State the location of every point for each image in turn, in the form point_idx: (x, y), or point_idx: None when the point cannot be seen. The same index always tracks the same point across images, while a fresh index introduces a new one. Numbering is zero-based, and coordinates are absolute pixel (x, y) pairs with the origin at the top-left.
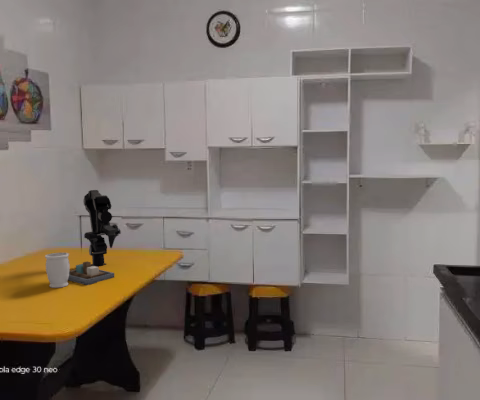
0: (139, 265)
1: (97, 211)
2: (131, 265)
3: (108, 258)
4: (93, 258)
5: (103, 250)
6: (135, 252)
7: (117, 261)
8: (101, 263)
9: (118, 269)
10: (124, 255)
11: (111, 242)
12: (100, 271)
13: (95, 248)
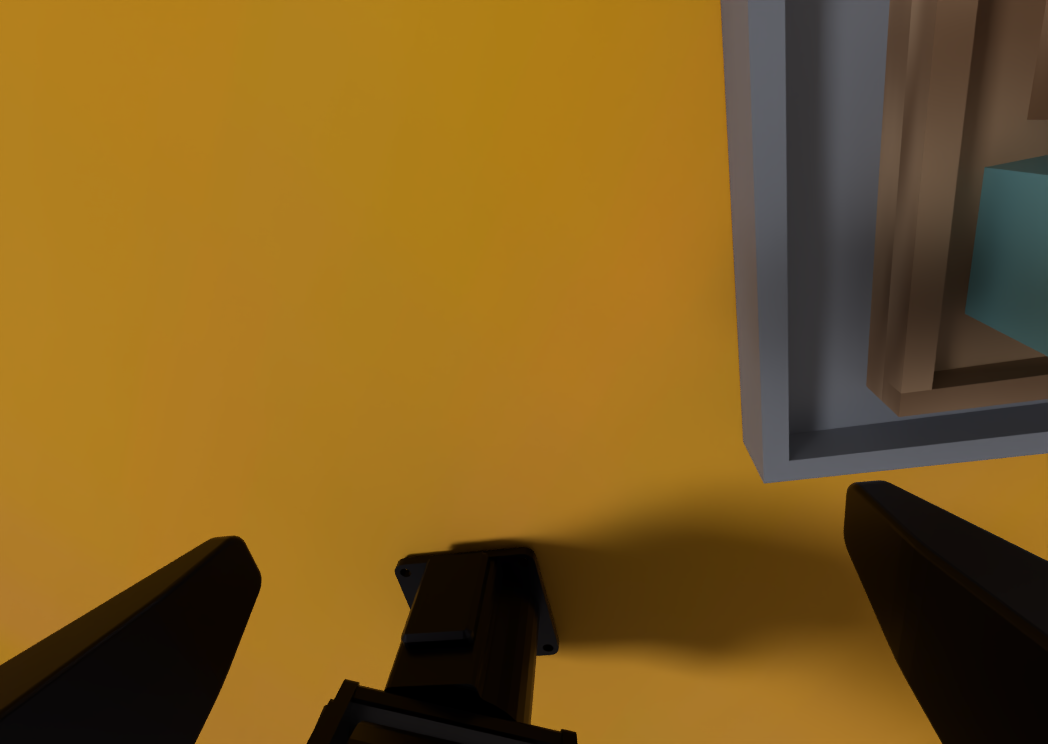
0: (23, 237)
1: None
2: (132, 322)
3: (297, 731)
4: (531, 690)
5: (376, 734)
6: None
7: None
8: (467, 567)
9: (353, 240)
10: None
11: (50, 723)
12: (777, 54)
13: (1005, 558)
